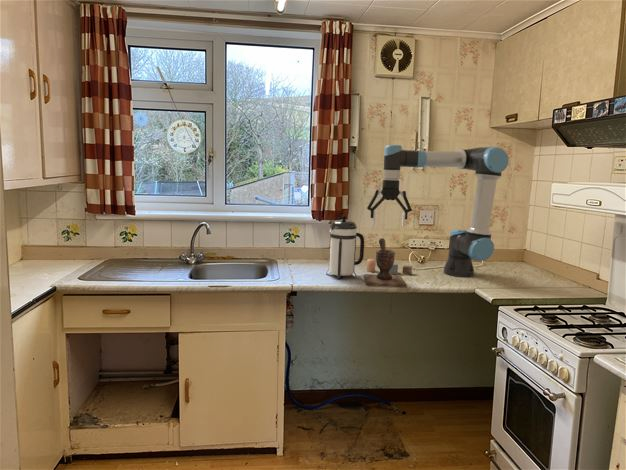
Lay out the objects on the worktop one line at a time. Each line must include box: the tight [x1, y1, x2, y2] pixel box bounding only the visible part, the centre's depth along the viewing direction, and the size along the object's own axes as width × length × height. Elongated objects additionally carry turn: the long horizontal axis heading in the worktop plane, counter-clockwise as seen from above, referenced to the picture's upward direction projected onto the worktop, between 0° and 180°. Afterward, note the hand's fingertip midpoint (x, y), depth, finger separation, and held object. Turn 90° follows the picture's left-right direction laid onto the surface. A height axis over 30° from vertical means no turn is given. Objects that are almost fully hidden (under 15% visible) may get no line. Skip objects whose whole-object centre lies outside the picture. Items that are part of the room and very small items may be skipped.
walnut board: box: [363, 273, 408, 288], centre depth 213 cm, size 18×16×2 cm
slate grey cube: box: [389, 262, 399, 275], centre depth 232 cm, size 5×5×5 cm
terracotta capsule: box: [366, 258, 377, 273], centre depth 234 cm, size 4×4×6 cm
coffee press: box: [325, 214, 365, 281], centre depth 220 cm, size 17×16×30 cm
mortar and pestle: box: [375, 238, 396, 280], centre depth 211 cm, size 12×9×20 cm
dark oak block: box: [401, 265, 413, 276], centre depth 231 cm, size 4×4×4 cm
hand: (388, 226), depth 209 cm, fingers open, 13 cm apart
